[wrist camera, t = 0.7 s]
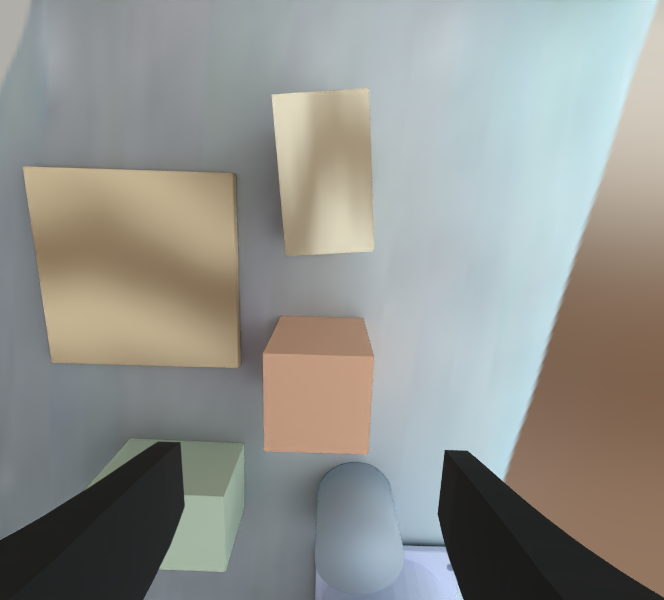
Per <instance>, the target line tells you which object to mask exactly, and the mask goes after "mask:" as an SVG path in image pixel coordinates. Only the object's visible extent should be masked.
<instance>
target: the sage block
mask: <svg viewBox="0 0 664 600" xmlns="http://www.w3.org/2000/svg"><path fill="white" fill-rule="evenodd" d="M158 441H160V442H181V456H182V471H183V485H184V500H185V507H184V510H183V513H182V516H181V519H180V522H179V524H178V527H177V530H176V532H175V535H174V538H173V540H172V543H171V545H170V547H169V549H168V552H167V554H166V556H165V558H164V560H163V562H162V564H161V566H160V568H159V569H165V570H190V571H215V572H226V569H227V565H228V562H229V558H230V555H231V552H232V548H233V545H234V542H235V538H236V535H237V532H238V528H239V525H240V521H241V518H242V515H243V511H244V508H245V491H244V443H223V442H201V441H178V440H155V439H132V438H130V439H129V440H128V442H127V443H126V444H125V445H124V446H123V447H122V448H121V449H120V451H119V452H118V453H117V454H116V455H115V456H114V457H113V458H112V460H111V461H110V462H109V463H108V464H107V465H106V466H105V467H104V469H103V470H102V471H101V472H100V473H99V474H98V475H97V477H96V478H95V479H94V480H93V481H92V482H91V483H90V484H89V486H88V487H87V488H86V489H88V488H89V487H91V486H92V485H94V484H95V483H97V482H98V481H99V480H101V479H102V478H104V477H105V476H107V475H108V474H110V473H111V472H113V471H114V470H116V469H117V468H119V467H120V466H122V465H123V464H125V463H126V462H128V461H129V460H130V459H132V458H133V457H135V456H136V455H138V454H139V453H141V452H142V451H144V450H145V449H147V448H148V447H150V446H152V445H153V444H155V443H157V442H158ZM86 489H85V490H86Z"/></svg>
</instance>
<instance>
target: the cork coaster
mask: <svg viewBox="0 0 664 600" xmlns="http://www.w3.org/2000/svg"><path fill="white" fill-rule="evenodd" d="M23 173H24V180H25V186H26V193H27V200H28V206H29V213H30V220H31V226H32V233H33V240H34V246H35V253H36V260H37V266H38V273H39V280H40V286H41V293H42V300H43V306H44V313H45V320H46V326H47V333H48V340H49V346H50V353H51V360H52V363H81V364H115V365H149V366H184V367H218V368H239V366H240V364H241V341H240V305H239V268H238V232H237V195H236V174H234V173H217V172H184V171H151V170H119V169H86V168H53V167H23Z"/></svg>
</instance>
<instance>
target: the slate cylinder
mask: <svg viewBox="0 0 664 600" xmlns="http://www.w3.org/2000/svg"><path fill="white" fill-rule="evenodd" d="M403 565H404V550H403V545H402V540H401V535H400V530H399V526H398V521H397V516H396V511H395V506H394V501H393V496H392V491H391V487H390V483H389V481H388V479H387V478H386V476H385V475H384V474H383V473H382V472H381V471H380V470H378V469H377V468H375V467H373V466H371V465H368V464H365V463H359V462H351V463H345V464H342V465H339V466H337V467H335V468H333V469H332V470H330V471H329V472H328V473H327V474H326V475H325V476H324V478H323V479H322V481H321V483H320V485H319V489H318V504H317V522H316V541H315V566H316V569H317V571H318V573H319V575H320V577H321V578H322V579H323V580H324V581H325V582H326V583H327V584H328V585H329V586H331V587H332V588H334V589H336V590H338V591H341V592H344V593H348V594H355V595H364V594H370V593H374V592H377V591H380V590H382V589H384V588H386V587H387V586H389V585H390V584H391V583H393V582H394V581H395V580H396V578H397V577H398V576H399V574H400V573H401V571H402V568H403Z"/></svg>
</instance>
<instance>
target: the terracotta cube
mask: <svg viewBox="0 0 664 600" xmlns="http://www.w3.org/2000/svg"><path fill="white" fill-rule="evenodd" d="M373 365H374V355H373V351H372V348H371V344H370V340H369V336H368V333H367V329H366V325H365V322H364V318H335V317H301V316H281V317H280V319H279V321H278V324H277V326H276V328H275V330H274V332H273V334H272V336H271V338H270V340H269V342H268V344H267V346H266V348H265V350H264V352H263V404H264V451H268V452H303V453H338V454H368V450H369V433H370V416H371V399H372V382H373Z"/></svg>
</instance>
